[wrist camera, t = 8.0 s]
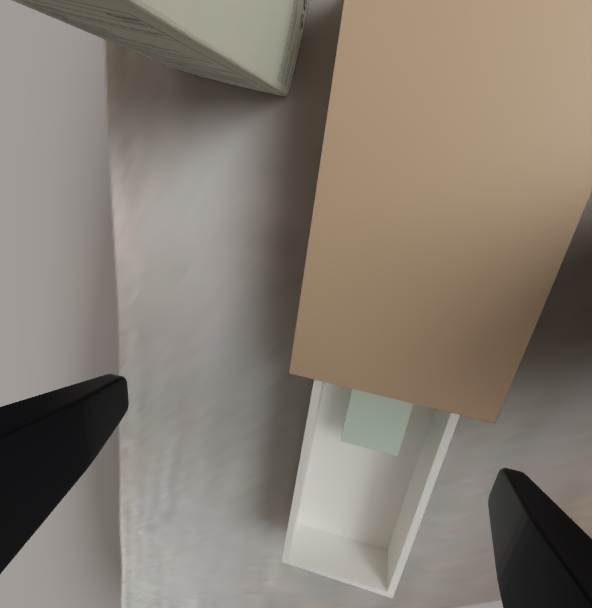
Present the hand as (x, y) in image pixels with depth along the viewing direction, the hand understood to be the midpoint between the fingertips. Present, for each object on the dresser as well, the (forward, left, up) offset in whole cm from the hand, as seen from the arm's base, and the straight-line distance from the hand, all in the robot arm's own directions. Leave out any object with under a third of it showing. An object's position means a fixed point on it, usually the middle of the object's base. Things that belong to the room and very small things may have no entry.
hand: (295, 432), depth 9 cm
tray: (-3, +9, -12) cm, 15 cm away
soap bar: (-3, +5, -11) cm, 13 cm away
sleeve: (-3, -5, -12) cm, 13 cm away
